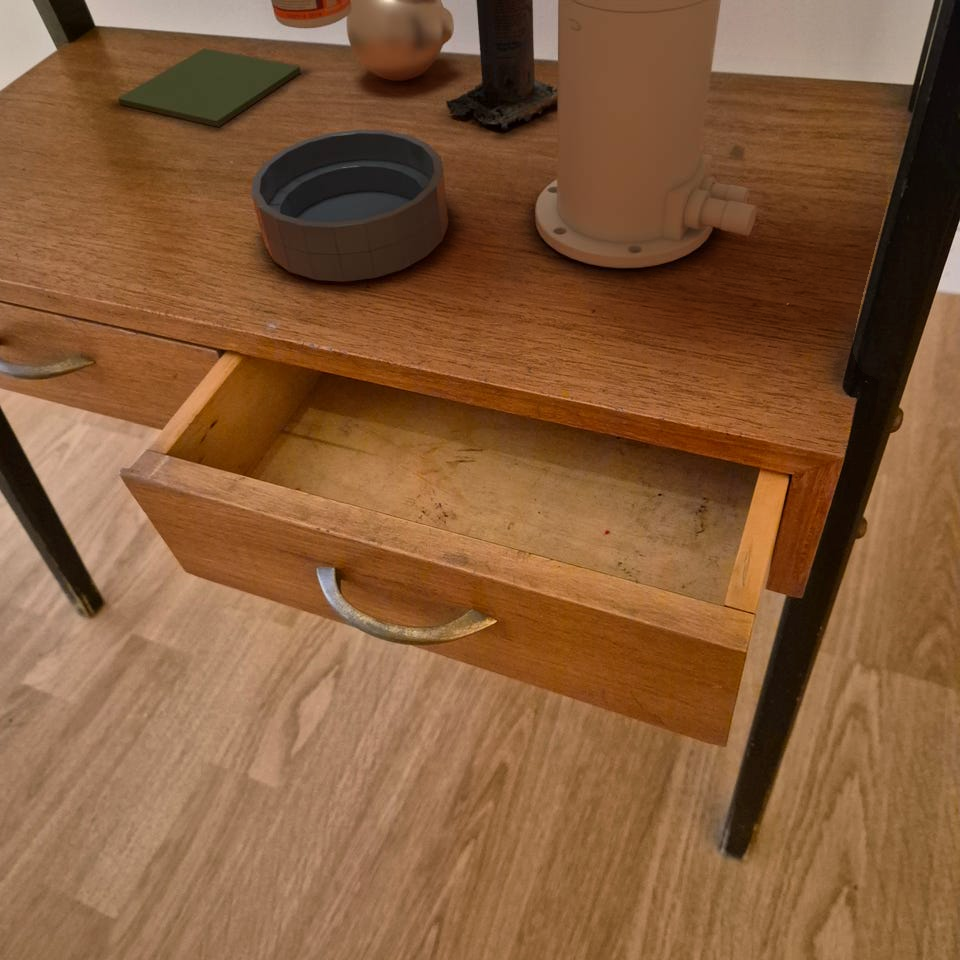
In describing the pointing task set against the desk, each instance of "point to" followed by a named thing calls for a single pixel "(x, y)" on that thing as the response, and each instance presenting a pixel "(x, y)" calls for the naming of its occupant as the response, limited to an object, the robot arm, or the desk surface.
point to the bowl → (351, 204)
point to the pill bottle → (310, 12)
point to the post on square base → (505, 67)
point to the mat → (210, 87)
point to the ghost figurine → (398, 35)
